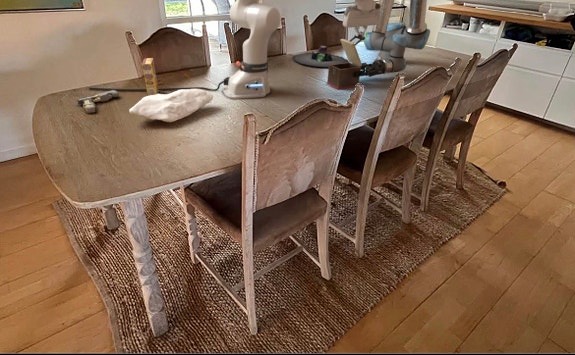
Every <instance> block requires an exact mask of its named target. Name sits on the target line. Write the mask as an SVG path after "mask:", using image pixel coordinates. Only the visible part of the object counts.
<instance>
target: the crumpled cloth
mask: <svg viewBox="0 0 575 355" xmlns="http://www.w3.org/2000/svg"><path fill="white" fill-rule="evenodd" d="M213 97H214V96H213V94H212V93H210V92H208V91H207V90H205V89H181V90H174V91H173V92H171V93H167V94H163V93H158V94H156V95H150V96H148V95H146V96H144V97H142V98H141V99H140V100H139V101H138V102H137V103H136V104H134V105H133V106H132V107H131V108H129V114H130V115H135V116H140V117H145V118H146V119H149V120H152V121H155V120H158V121H163V122H166V123H174V122H176V121H178V120H181V119H183V118H185V117H188V116H190V115H192V114H193V113H195V112H196V111H197V110H199V109H200V108H202V107H204V106H206V105H207V104H210V102H211V101H212V100H213V99H214V98H213Z"/></svg>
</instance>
